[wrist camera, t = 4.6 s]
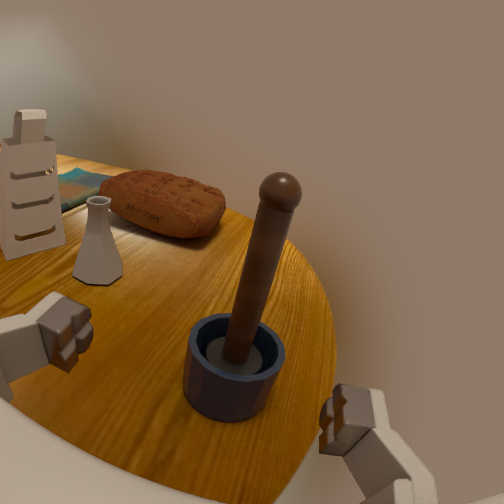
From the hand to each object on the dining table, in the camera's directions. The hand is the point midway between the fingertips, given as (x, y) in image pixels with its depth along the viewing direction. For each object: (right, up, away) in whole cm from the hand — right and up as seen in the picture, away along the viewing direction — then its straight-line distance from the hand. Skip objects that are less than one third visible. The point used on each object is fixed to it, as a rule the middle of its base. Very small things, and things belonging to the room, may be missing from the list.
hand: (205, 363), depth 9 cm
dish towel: (-40, +17, +51) cm, 67 cm away
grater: (-34, +5, +30) cm, 46 cm away
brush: (-1, -9, +17) cm, 19 cm away
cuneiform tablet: (-16, +9, +48) cm, 51 cm away
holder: (-1, -9, +17) cm, 20 cm away
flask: (-19, +1, +28) cm, 34 cm away
